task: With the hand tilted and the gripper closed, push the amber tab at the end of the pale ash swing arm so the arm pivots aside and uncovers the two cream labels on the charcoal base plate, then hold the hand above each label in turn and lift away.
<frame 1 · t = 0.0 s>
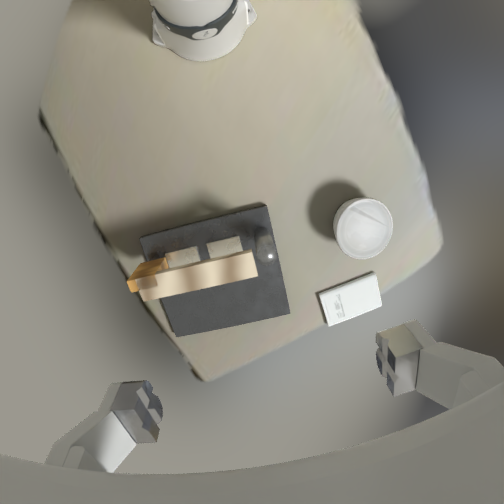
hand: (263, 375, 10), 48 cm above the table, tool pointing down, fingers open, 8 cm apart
ramekin: (355, 222, 59), on the table
swing arm: (193, 269, 52), point 7 cm above the table, hinge at 0.0°
external hard drive: (349, 297, 65), on the table
base plate: (217, 275, 61), on the table
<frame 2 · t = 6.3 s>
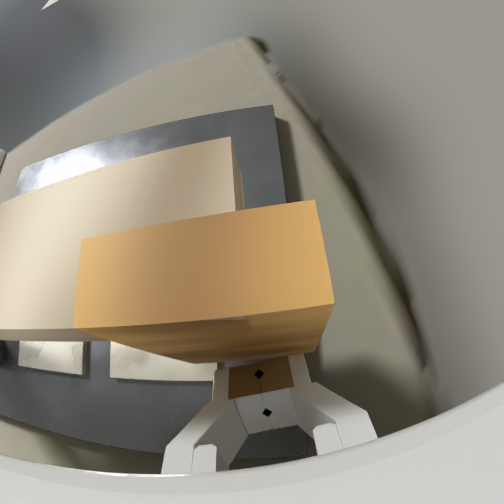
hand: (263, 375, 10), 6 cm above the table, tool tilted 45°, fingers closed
swing arm: (41, 303, 11), point 8 cm above the table, hinge at 2.3°, touching gripper
base plate: (104, 269, 19), on the table
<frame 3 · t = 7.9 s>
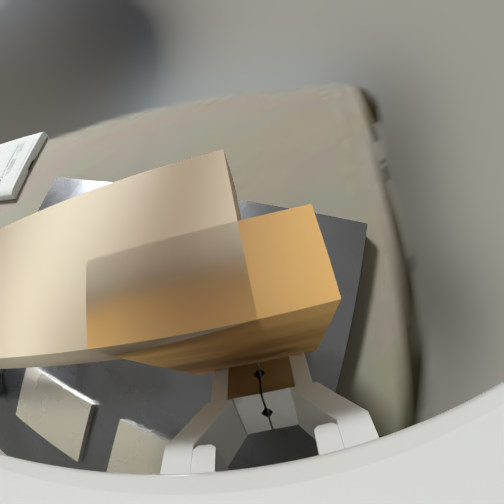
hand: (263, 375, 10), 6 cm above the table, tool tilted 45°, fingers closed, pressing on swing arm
swing arm: (42, 328, 10), point 8 cm above the table, hinge at 26.9°, touching gripper
external hard drive: (5, 175, 28), on the table
base plate: (119, 359, 17), on the table
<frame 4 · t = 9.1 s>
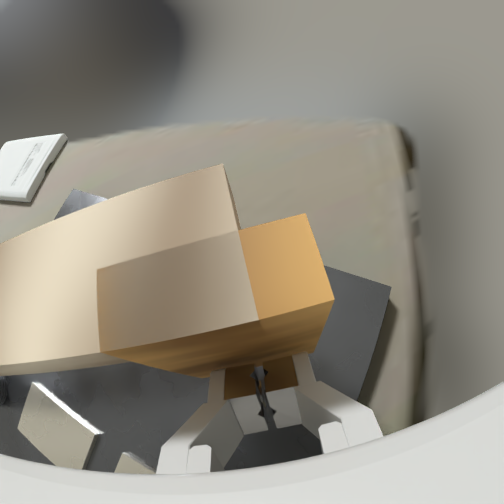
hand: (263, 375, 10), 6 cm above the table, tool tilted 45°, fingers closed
swing arm: (48, 336, 11), point 7 cm above the table, hinge at 34.8°, touching gripper
external hard drive: (21, 173, 28), on the table
base plate: (126, 392, 17), on the table
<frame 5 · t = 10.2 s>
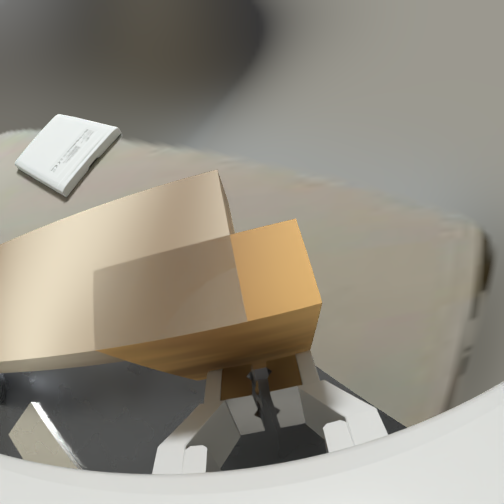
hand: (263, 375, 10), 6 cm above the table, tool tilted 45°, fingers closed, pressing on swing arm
swing arm: (47, 336, 11), point 8 cm above the table, hinge at 51.0°, touching gripper
external hard drive: (66, 155, 29), on the table
base plate: (121, 444, 15), on the table
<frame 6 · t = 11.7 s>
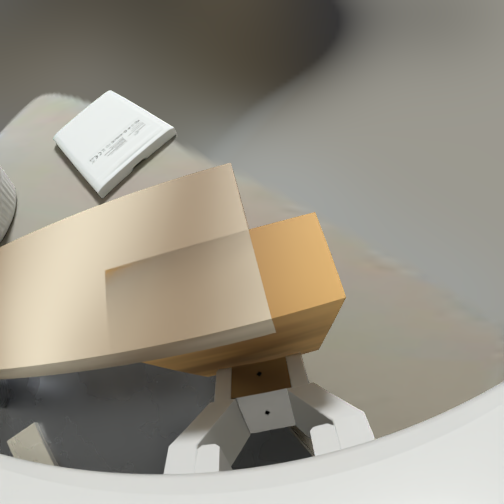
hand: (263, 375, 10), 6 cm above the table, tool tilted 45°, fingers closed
swing arm: (52, 337, 11), point 8 cm above the table, hinge at 66.9°, touching gripper
external hard drive: (110, 142, 27), on the table
base plate: (120, 485, 14), on the table
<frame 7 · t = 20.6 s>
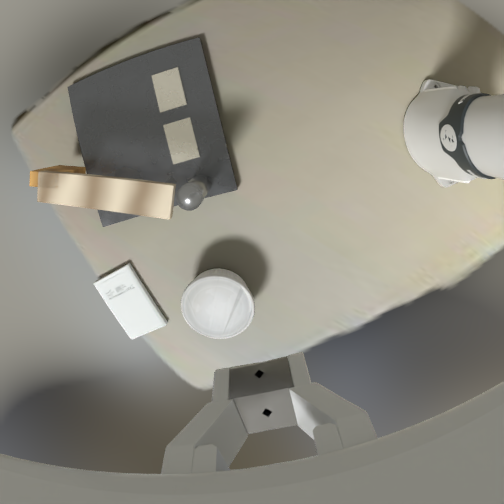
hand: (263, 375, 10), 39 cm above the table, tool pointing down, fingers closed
ramekin: (219, 293, 53), on the table
swing arm: (104, 187, 39), point 8 cm above the table, hinge at 67.0°
external hard drive: (131, 300, 53), on the table
base plate: (147, 131, 44), on the table
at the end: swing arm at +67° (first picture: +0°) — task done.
